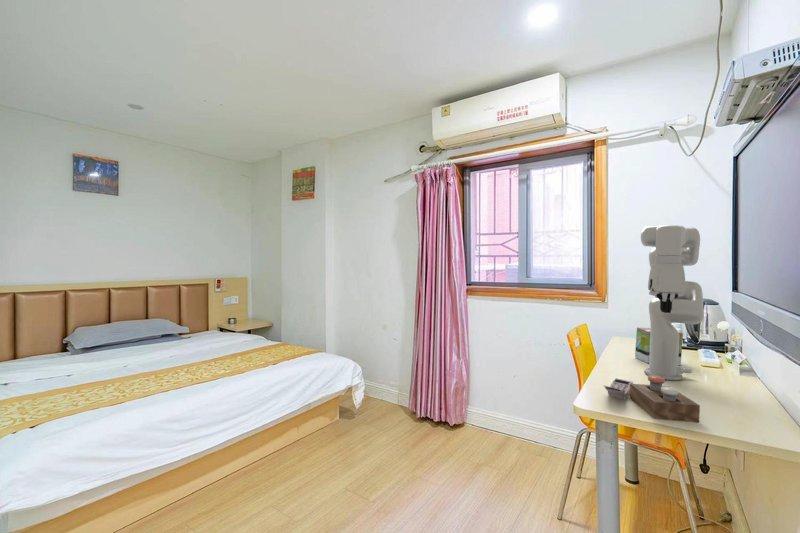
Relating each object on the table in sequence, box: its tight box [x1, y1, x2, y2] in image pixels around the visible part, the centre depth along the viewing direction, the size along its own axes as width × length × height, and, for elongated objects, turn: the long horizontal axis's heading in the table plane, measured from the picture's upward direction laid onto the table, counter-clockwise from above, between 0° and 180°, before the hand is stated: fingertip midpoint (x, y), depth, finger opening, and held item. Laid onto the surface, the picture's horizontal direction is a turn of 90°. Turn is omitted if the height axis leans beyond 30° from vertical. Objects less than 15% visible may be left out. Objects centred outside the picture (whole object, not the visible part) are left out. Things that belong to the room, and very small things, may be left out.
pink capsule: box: [647, 375, 665, 392], centre depth 120 cm, size 4×4×7 cm
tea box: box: [634, 327, 684, 365], centre depth 171 cm, size 15×10×15 cm
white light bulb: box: [661, 385, 680, 401], centre depth 112 cm, size 4×4×7 cm
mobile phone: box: [603, 378, 634, 400], centre depth 129 cm, size 6×6×25 cm
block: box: [629, 383, 701, 423], centre depth 116 cm, size 12×16×5 cm
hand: (665, 312), depth 131 cm, fingers closed
